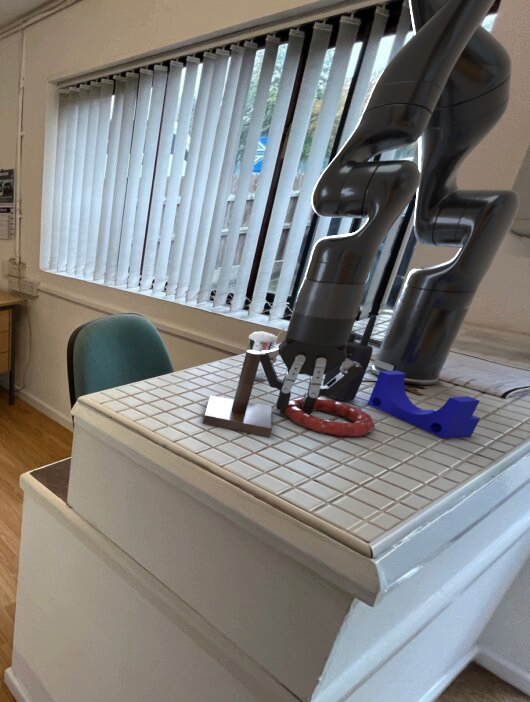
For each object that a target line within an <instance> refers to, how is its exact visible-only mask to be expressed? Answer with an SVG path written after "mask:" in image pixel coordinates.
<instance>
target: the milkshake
mask: <svg viewBox="0 0 530 702" xmlns="http://www.w3.org/2000/svg"><path fill="white" fill-rule="evenodd" d="M284 330H285V328H284V327H283V328H281V330H280V331H279V333H278V334H277V335H275V334H273V333H270V332H267V331H263V330H261V331H254V332H251V334H249V336H248V341H247V346H246V347H247V348H246V351H248V350H255V351H259V352H260V351H262V350H267V351H269V350H272V349H275V348H276V344H277V342H278V338H279V337H280V335H281V334H282V332H283V331H284ZM264 375H265V372H264V369H263V367H262V364H261V361H260V362H259V366H258V370H257V373H256V377H255V381H256V380H257V381H259V380H263V377H264Z"/></svg>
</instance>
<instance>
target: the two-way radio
mask: <svg viewBox="0 0 530 702" xmlns="http://www.w3.org/2000/svg"><path fill="white" fill-rule="evenodd" d="M377 318H378V316H377V315H375V314H374V315H370V317H369V319H368V321H367V324H366V325H365V329H364V331H363V334H362V339H361V340H360V341H356V338H355V337H356V334H354V333H350V336H349V339H348V342H347V345H346V353H347V358H349V359H350V360H352V361H354V362H359V363H360V364H361V366H362V368H363V372H362V373H361V374H360V375H359V376H357V377H356V378H355V379H353V380H352V381H351V382H350V383H348V384H347V385H346V386H345V387H343V388H342V389H341V390H339V391H338V392H337V393H336V394H334V395H333V396H331V397H330V398H334V399H336V400H341V401H342V402H351V401H354V400H355V398H356V397H357V394H358V392H359V389H360V387H361V385H362V382H363V380H364V378H365V374H366V371H367V370H368V368H369V364H370V362H371V358H372V355H373V352H374V349H373V346H372V345H369V343H370V342H369V340H370V338H371V336H372V333H373V331H374V327H375V324H376V321H377ZM341 366H342V363H341V364H340V365H338V366H336V367H335V368H333V369H332V370H330V371H329V372H327V373H326V374H324V376H323V380H322V384H321V386H324V385H325V384H327V383H328V382H329V381H330V380H332V379H333V378H334V377H335V376H337V375H338V374H339V373H340V372H341V371H340V367H341Z"/></svg>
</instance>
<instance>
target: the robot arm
mask: <svg viewBox="0 0 530 702" xmlns="http://www.w3.org/2000/svg"><path fill="white" fill-rule="evenodd" d="M495 2H496V0H408V3H409V4H408V5H409V9H410V10H409V11H410V15H411V24H412V29H413V36H412V37H411V38H410V39H408V41H407V42H406V43H405V44H404V45H403V46H402V47H401V48H400V49H399V50H398V51H397V53H395V55H394V56H393V57H392V59H390V61H389V62H388V64H387V65H385V68H384V69H383V70H382V71H381V74H380V75H379V77H378V78H377V80H376V82H375V84H374V86H373V88H372V90H371V92H370V95H369V97H368V100H367V102H366V104H365V106H364V109H363V112H362V114H361V116H360V117H359V121H358V123H357V125H356V126H355V129H354V130H353V132H352V133H351V135H350V136H349V138H347V141H346V142H345V143H344V145H343V146H342V147H341V148H340V150H339V151H338V152H337V154H336V155H335V157H334V158H333V159H332V161H331V162H330V163H329V164H328V166H327V167H326V168H325V170H324V171H323V172H322V174H321V175H320V177H319V178H318V180H317V182H316V184H315V185H314V188H313V191H312V195H311V206H312V209H313V210H314V212H315V213H316V214H317V216H320V217H322V218H323V217H324V218H341V219H342V218H346V219H366V221H365V223H364V224H363V225H362V226H361V227H360V228H359V229H358V230H356V231H355V232H352V233H345V234H338V235H329V236H325V237H322V238H320V239H319V240H317V241H316V243H315V244H314V246H313V249H312V251H311V255H310V257H309V258H310V259H309V262H308V265H307V269H306V272H305V274H304V275H305V276H304V278H303V280H302V283H301V285H300V288H299V290H298V292H297V296H296V299H295V302H294V305H293V310H292V312H291V316H290V319H289V322H288V326H287V330H286V333H285V337H284V340H283V341H282V342H281V343H280V344H279V345H278V346H277V347H275V348H274V349H272V350H269V351H267V350H262V351H260V352H261V353H262V355H261V359H260V361H261V364H262V367H263V369H264V375H265V377H266V379H267V383H268V385H269V387H271V388H273V389H277V390H278V391H279V392H278V396H277V399H276V403H275V407H276V410H277V411H279V414H280V415H286V409H287V406H288V403H289V401H291V400H290V399H291V397H292V388H293V386H294V384H295V382H297V381H296V380H297V378H298V376H299V375H306V376H309V381H308V387H307V392H305V393H304V396H303V397H302V398H303V401H302V405H301V410H302V411H304V412H305V413H307V414H309V415H312V414H313V411H314V410H313V408H314V405H315V402H316V400H317V398H320V397H329V398H332V397H331V396H333V395H334V394H336V393H337V392H338V391H339V390H341V389H342V388H343V387H345V386H346V385H347V384H348V383H350V382H351V381H352V380H353V379H355V378H356V377H357V376H359V375H360V374H361V373H362V372H363V368H362V366H361V364H360V363H359V362H354V361H352V360H350V359H349V358H347V353H346V345H347V342H348V339H349V336H350V333H354V334H356V337H355V339H357V340H360V341H361V339H362V336H363V334H359V333H357V332H356V331H354V330H353V328H354V324H355V322H356V319H357V316H358V314H359V313H360V311H361V305H362V302H363V299H364V293H365V287H366V283H367V281H368V278H369V275H370V272H371V270H372V266H373V264H374V261H375V258H376V255H377V253H378V251H379V249H380V247H381V245H382V244H383V242H384V240H385V238H386V237H387V235H388V234H389V232H390V230H391V229H392V227H393V226H394V224H395V223H396V221H397V220H398V219H399V218H400V217H401V215H402V213H403V212H404V211H405V209H406V208H407V207H408V206H409V204H410V203H411V201H412V199H413V198H414V196H416V198H415V208H414V215H413V216H414V219H413V232H414V237H415V239H416V240H417V241H418V242H419V243H420V244H422V245H425V246H430V247H440V248H441V247H442V248H454V249H459V250H458V251H457V253H456V255H454V257H453V258H452V259H449V260H447V261H445V262H441V263H438V264H433V265H432V264H431V265H425V266H419V267H415V268H413V269H411V270H410V271H409V273H408V274H407V277H406V279H405V281H404V284H403V287H402V289H401V292H400V295H399V297H398V301H397V303H396V305H395V308H394V311H393V314H392V316H391V318H390V321H389V324H388V326H387V329H386V332H385V334H384V337H383V340H382V341H381V340H378V339H375V338H371V337H370V340H369V342H368V343H370V344H373V345H376V346H379V350H378V352H377V354H376V357H375V359H374V361H373V364H372V366H371V369H370V371H371V373H372V374H374V375H376V376H377V377H378V376H379V373H380V371H396V370H397V371H400V372H403V373H405V374H406V375H405V379H404V384H408V385H415V386H416V385H418V386H431V385H435V384H437V383H438V381H439V378H440V377H439V376H440V375H441V372H442V370H443V368H444V366H445V364H446V361H447V359H448V357H449V354H450V352H451V350H452V348H453V345H454V343H455V342H456V339H457V337H458V334H459V333H460V330H461V328H462V326H463V323H464V322H465V319H466V317H467V314H468V312H469V310H470V308H471V306H472V303H473V301H474V298H475V297H476V294H477V293H478V290H479V287H480V285H481V283H482V282H483V280H484V279H485V277H486V276H487V274H488V272H489V270H490V269H491V266H492V264H493V262H494V261H495V259H496V256H497V255H498V252H499V251H500V248H501V247H502V244H503V243H504V241H505V239H506V238H507V235H508V233H509V231H510V230H511V228H512V226H513V224H514V222H515V220H516V218H517V215H518V212H519V209H520V204H521V203H520V195H519V193H518V192H516V191H515V190H513V189H498V188H497V189H495V188H494V189H491V188H490V189H487V188H485V189H461V188H459V186H458V175H459V171H460V168H461V166H462V165H463V164H464V162H465V161H466V159H468V157H469V156H470V155H471V153H472V152H474V150H476V148H477V147H478V146H479V145H480V144H481V143H482V142H483V141H484V140H485V139H486V138H487V136H488V135H489V134H490V133H492V131H493V130H494V129H495V127H497V125H498V124H499V122H500V121H501V120H502V118H503V117H504V116H505V113H506V112H507V110H508V107H509V103H510V95H511V84H512V83H511V82H512V71H513V69H512V68H513V63H512V58H511V56H510V53H509V51H508V50H507V48H506V47H505V46H504V45H503V43H501V41H499V40H498V38H497V37H495V36H494V35H493V34H491V32H489V31H488V30H487V29H486V28H485V27H483V26H482V25H481V23H482V21H483V20H484V19H485V17H486V15H487V14H488V12H489V11H490V9H491V8H492V6H493V5H494V3H495ZM416 142H417V145H418V146H417V148H418V165H417V164H416V163H415V162H414V161H413V160H408V159H388V160H371V159H372V158H374V157H376V156H378V155H380V154H383V153H387V152H390V151H395V150H399V149H402V148H405V147H408V146H410V145H412V144H414V143H416ZM278 356H280V358H281V360H282V362H283V363H284V366H286V371H285V373H284V374H285V375H284V377H283V379H281V378H279V376H278V375H277V372H276V369H275V366H274V364H275V363H276V362H277V357H278ZM341 363H342V366H341V367H340V371H341V372H340V373H339V374H338V375H337V376H335V377H334V378H333V379H332V380H330V381H329V382H328V383H327V384H325V385H324V386H322V385H323V380H324V376H325V374H326V373H327V372H329V371H330V370H332V369H333V368H335V367H336V366H338V365H340V364H341Z"/></svg>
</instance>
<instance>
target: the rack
mask: <svg viewBox="0 0 530 702" xmlns="http://www.w3.org/2000/svg"><path fill="white" fill-rule="evenodd" d="M261 355H262V353H261V352H259V351H255V350H248V351H247V350H246V352H245V356H244V358H243V359H244V360H243V364H242V366H241V371H240V375H239V379H238V382H237V387H236V391H235V395H234V398H228V397H222V396H216V395H209V398H208V401H207V405H206V407H205V411H204V414H203V419H202V424H204V425H210V426H212V427H213V426H214V427H218V428H223V429H228V430H232V431H237V432H242V433H247V434H251V435H255V436H261V437H266V438H270V437H271V434H272V430H273V406H272V405H267V404H261V403H255V402H250V400H251V399H250V398H251V396H252V392H253V388H254V385H255V381H256V380H255V377H256V373H257V370H258V366H259V362H260V359H261Z"/></svg>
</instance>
